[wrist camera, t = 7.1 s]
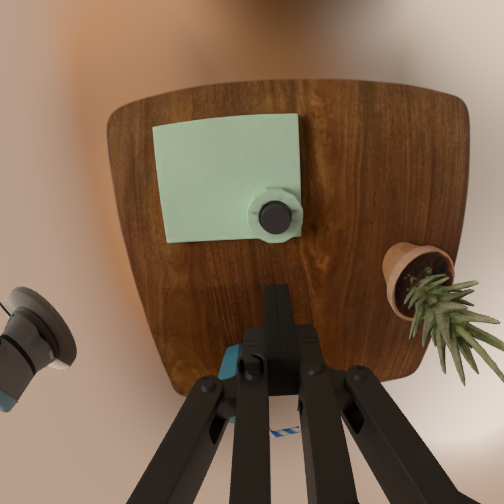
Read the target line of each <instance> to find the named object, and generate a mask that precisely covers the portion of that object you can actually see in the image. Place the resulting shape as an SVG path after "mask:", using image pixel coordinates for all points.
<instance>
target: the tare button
mask: <svg viewBox="0 0 504 504" xmlns="http://www.w3.org/2000/svg"><path fill="white" fill-rule="evenodd" d="M261 223H262V226H263V228H264V229H265V230H266V231H267V232H268V233H270V234H274V235H277V234H281V233H284V232H285V231H286V230H287V229H288V228H289V226H290V223H291V217H290V214H289V212H288V210H287V208H286V207H285V206H284V205H283V204H280V203H270V204H268V205H267V206H265V207H264V209H263V210H262V213H261Z"/></svg>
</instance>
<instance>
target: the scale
mask: <svg viewBox="0 0 504 504" xmlns="http://www.w3.org/2000/svg"><path fill="white" fill-rule="evenodd" d="M153 137H154V148H155V158H156V167H157V176H158V184H159V192H160V199H161V206H162V213H163V220H164V226H165V232H166V238H167V243H175V242H193V241H212V240H232V239H254V238H259V239H261V240H264V241H266V242H268V243H283V242H285V241H287V240H288V239H290V238H292V237H300V236H301V226H302V224H303V208H302V206H301V179H300V148H299V126H298V114H260V115H243V116H230V117H219V118H210V119H201V120H193V121H186V122H180V123H173V124H167V125H161V126H156V127H153ZM270 203H280V204H283V205H284V206H285V207H286V208H287V210H288V212H289V214H290V217H291V223H290V226H289V228H288V229H287V230H286V231H285V232H284V233H281V234H277V235H274V234H270V233H268V232H267V231H266V230H265V229H264V228H263V226H262V223H261V213H262V210H263V209H264V207H265V206H267V205H268V204H270Z"/></svg>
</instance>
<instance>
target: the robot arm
mask: <svg viewBox="0 0 504 504" xmlns="http://www.w3.org/2000/svg"><path fill="white" fill-rule="evenodd" d="M0 306H1V307H2V309H3V310H4V311H5V312H6V313H7V315H8V316H9V317H10V318H9V320H8V323H7V325H6V327H5V330H4V332H3V334H2V335H1V336H0V411H3V412H9V411H10V410H11V409H12V408H13V407H14V405H15V404H16V403H17V402H18V400H19V398H20V396H21V395H22V393H23V392H24V390H25V389H26V387H27V386H28V384H29V383H30V381H31V380H32V378H33V377H34V375H35V374H36V373H37V372H38V371H39V370H41V369H42V368H44V367H46V366H47V365H49V364H51V363H52V362H54V361H55V360H56V358H57V357H58V355H59V345H58V342H57V340H56V338H55V336H54V334H53V333H52V331H51V329H50V328H49V327H48V325H47V324H46V323H45V322H44V321H43V320H42V319H41V318H40V317H39V316H38V315H37V314H36V313H35V312H33V311H32V310H30V309H28V308H26V307H23V306H20V307H17V308H16V309H15V310H14V311H13V312H12V314H10V313H9V312H8V311H7V309H6V308H5V307H4V306H3V305H2V303H1V302H0ZM264 310H265V328H247V330H246V331H245V332H244V334H243V343H242V355H241V356H240V357H239V358H238V360H237V368H238V373H237V374H236V375H234V376H232V377H230V378H227V379H223V380H220V379H219V378H218V377H216V376H204V377H201V378H200V379H198V380H197V381H196V382H195V384H194V386H193V388H192V389H191V391H190V393H189V395H188V397H187V398H186V400H185V402H184V404H183V406H182V407H181V409H180V411H179V413H178V414H177V416H176V418H175V420H174V421H173V423H172V425H171V427H170V429H169V430H168V432H167V434H166V436H165V437H164V439H163V441H162V443H161V444H160V446H159V448H158V450H157V451H156V453H155V455H154V457H153V458H152V460H151V462H150V463H149V465H148V467H147V469H146V471H145V472H144V474H143V475H142V477H141V479H140V481H139V482H138V484H137V486H136V488H135V489H134V491H133V493H132V494H131V496H130V498H129V499H128V501H127V503H126V504H193V502H194V500H195V498H196V496H197V494H198V491H199V489H200V487H201V485H202V483H203V480H204V478H205V476H206V474H207V471H208V469H209V467H210V464H211V462H212V460H213V457H214V455H215V453H216V450H217V448H218V446H219V443H220V441H221V439H222V436H223V434H224V431H225V429H226V426H227V424H228V422H229V419H230V418H231V417H235V428H234V442H233V456H232V470H231V484H230V499H229V504H271V476H270V430H269V398H268V396H282V395H296V394H298V395H299V400H298V410H297V411H299V414H300V423H301V433H302V442H303V452H304V461H305V473H306V484H307V496H308V504H359V502H358V499H357V494H356V488H355V483H354V478H353V473H352V467H351V463H350V457H349V452H348V448H347V443H346V438H345V434H344V429H343V425H342V420H341V417H342V419H343V421H344V422H345V424H346V426H347V428H348V429H349V431H350V433H351V435H352V437H353V439H354V440H355V442H356V444H357V445H358V447H359V449H360V451H361V453H362V454H363V456H364V458H365V460H366V461H367V463H368V465H369V467H370V469H371V470H372V472H373V474H374V476H375V477H376V479H377V481H378V483H379V484H380V486H381V488H382V490H383V491H384V493H385V495H386V497H387V498H388V500H389V502H390V504H480V503H478V502H476V501H475V500H473V499H471V498H469V497H467V496H466V495H464V494H462V493H461V492H459V491H458V490H457V489H456V487H455V486H454V484H453V483H452V481H451V480H450V479H449V477H448V476H447V474H446V473H445V471H444V470H443V468H442V467H441V465H440V464H439V463H438V461H437V460H436V458H435V457H434V456H433V454H432V453H431V452H430V450H429V449H428V447H427V446H426V445H425V443H424V442H423V441H422V439H421V437H420V436H419V435H418V433H417V432H416V430H415V429H414V428H413V427H412V425H411V424H410V422H409V421H408V420H407V418H406V417H405V416H404V414H403V413H402V411H401V410H400V409H399V407H398V406H397V405H396V403H395V402H394V401H393V399H392V398H391V397H390V395H389V394H388V392H387V391H386V390H385V388H384V387H383V386H382V385H381V383H380V382H379V381H378V379H377V378H376V377H375V375H374V374H373V373H372V371H371V370H370V369H369V368H367V367H365V366H360V365H357V366H352V367H351V368H349V369H348V370H347V371H338V370H334V369H331V368H330V367H328V366H327V364H325V362H324V359H323V355H322V351H321V347H320V343H319V339H318V336H317V332H316V329H315V328H314V327H313V326H312V325H311V324H306V325H295V323H294V318H293V312H292V306H291V301H290V295H289V290H288V285H287V284H283V285H264Z"/></svg>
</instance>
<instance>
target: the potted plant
mask: <svg viewBox="0 0 504 504" xmlns="http://www.w3.org/2000/svg"><path fill="white" fill-rule="evenodd" d="M382 270H383V273H384V277H385V281H386V284H387V297H388V301H389V303H390V305H391V307H392V308H393V310H394V312H395V313H396V314H397V315H398V316H399V317H401V318H402V319H404V320H409V321H412V325H411V330H410V336H409V340H410V339H411V337H412V335H413V337H415V335H416V332H418V329H419V325H420V321H421V319H423V318H425V321H424V327H423V334H422V346H423V347H425V344H426V341H427V339H428V337H429V334H430V332H431V336H432V340H433V343H434V345H435V346H437V348H438V352H439V357H440V363H441V367H442V370H443V372H444V373H445V374H446V367H445V346H446V344H447V346H448V348H449V350H450V352H451V354H452V356H453V359H454V363H455V366H456V368H457V371H458V373H459V375H460V378H461V381H462V383H463V384H464V386H465V377H464V371H463V366H462V361H461V357H460V352H459V350H460V351H461V353H462V354H463V356H464V358H465V359H466V360H467V362H468V363H469V364H470V365H471V367H472V368H473V369H474V370H475V371H476V373H477V374H479V372H478V369H477V366H476V363H475V361H474V359H473V356H472V353H471V351H470V348H472V347H473V348H474V349H475V350H476V351H477V353H478V354H479V355H480V356H481V357H482V358H483V359H484V360H485V362H486V363H487V364H488V365H489V366H490V367H491V368H492V369H493V370H494V372H495V373H496V374H497V375H498V376H499V378H500V379H501V380H502V381H503V382H504V375H503V374H502V372H501V371H500V370H499V368H498V367H497V365H496V363H495V362H494V361H493V360H492V359H491V358H490V357H489V355H488V354H487V352H486V351H485V350H484V349H483V348H482V347H481V346H480V345H479V344H478V342H477V341H476V340H475V339H474V338H473V337H475V338H476V339H479V340H481V341H484V342H486V343H488V344H490V345H492V346H494V347H496V348H498V349H500V350H502V351H504V343H503V342H502V341H500V340H499V339H497V338H496V337H494V336H492V335H491V334H489V333H487V332H485V331H483V330H481V329H479V328H477V327H475V326H473V325H471V324H470V323H468V322H485V323H492V324H500V322H499V321H498V320H496V319H494V318H490V317H489V316H485V315H481V314H477V313H474V312H471V311H468V310H465V309H468V308H467V307H466V306H464V305H462V304H465V305H469V306H474V305H473V304H471V303H469V302H467V301H465V300H463V299H461V298H462V297H464V296H466V295H468V294H470V293H472V292H474V290H471V289H469V290H464V291H461V290H460V289H463V288H468V287H471V286H474V285H476V284H478V282H477V281H470V282H464V283H459V284H455V285H453V281H454V266H453V261H452V260H451V258H450V257H449V256H448V254H447V253H445V252H443V251H442V250H440V249H438V248H436V247H434V246H429V245H428V246H417V245H413V244H411V243H409V242H401V243H397V244H395V245H393V246H392V247H391V248H390V249H389V250H388V251H387V253H386V255H385V258H384V261H383V264H382ZM450 292H455V293H450ZM469 347H470V348H469Z"/></svg>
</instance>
